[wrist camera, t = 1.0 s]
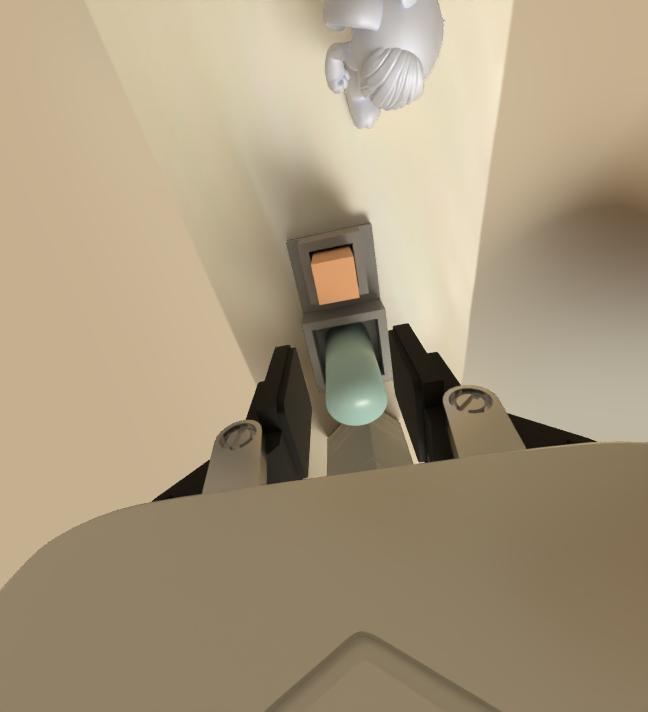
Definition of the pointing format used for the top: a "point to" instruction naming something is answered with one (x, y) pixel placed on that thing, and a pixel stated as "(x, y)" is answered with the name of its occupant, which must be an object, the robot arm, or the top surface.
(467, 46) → the top surface
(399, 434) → the skincare box
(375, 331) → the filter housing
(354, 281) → the plunger
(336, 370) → the cartridge
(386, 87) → the toy figurine
